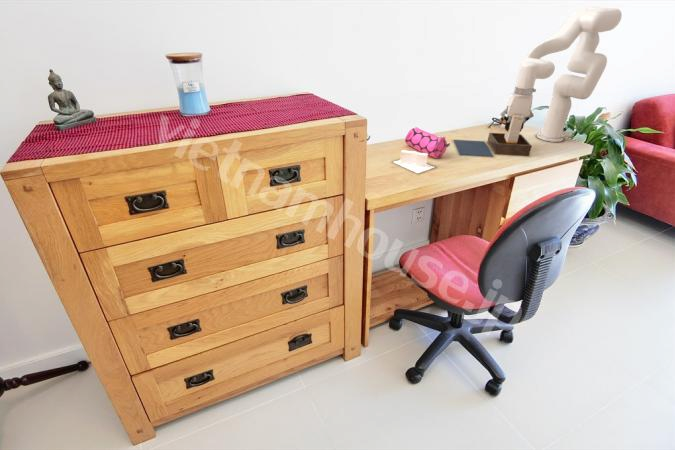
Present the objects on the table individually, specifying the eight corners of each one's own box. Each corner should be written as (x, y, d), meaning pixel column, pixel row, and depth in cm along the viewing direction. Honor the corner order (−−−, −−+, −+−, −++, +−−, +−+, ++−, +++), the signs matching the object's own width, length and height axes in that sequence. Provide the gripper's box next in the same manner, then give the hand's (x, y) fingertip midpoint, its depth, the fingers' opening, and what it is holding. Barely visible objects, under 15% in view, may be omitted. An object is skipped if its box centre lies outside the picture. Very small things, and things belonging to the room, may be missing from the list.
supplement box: (517, 143, 177) (524, 116, 169) (506, 143, 177) (513, 116, 170) (514, 138, 183) (520, 111, 176) (503, 137, 184) (510, 111, 177)
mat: (483, 142, 190) (483, 141, 190) (492, 156, 173) (493, 156, 173) (453, 140, 191) (454, 139, 191) (460, 155, 174) (460, 154, 174)
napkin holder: (392, 162, 166) (393, 150, 163) (409, 156, 172) (411, 144, 169) (418, 173, 156) (419, 160, 153) (435, 167, 162) (437, 154, 159)
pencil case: (448, 156, 173) (452, 135, 167) (434, 160, 168) (437, 139, 162) (415, 142, 187) (418, 123, 182) (401, 146, 182) (403, 126, 177)
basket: (518, 143, 188) (521, 134, 186) (528, 156, 174) (532, 145, 172) (487, 142, 190) (489, 132, 187) (494, 154, 176) (497, 144, 173)
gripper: (540, 89, 170) (529, 128, 180) (501, 89, 172) (492, 127, 182) (545, 93, 164) (534, 133, 174) (505, 93, 165) (496, 132, 175)
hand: (513, 130), depth 177 cm, fingers closed on supplement box, 5 cm apart
